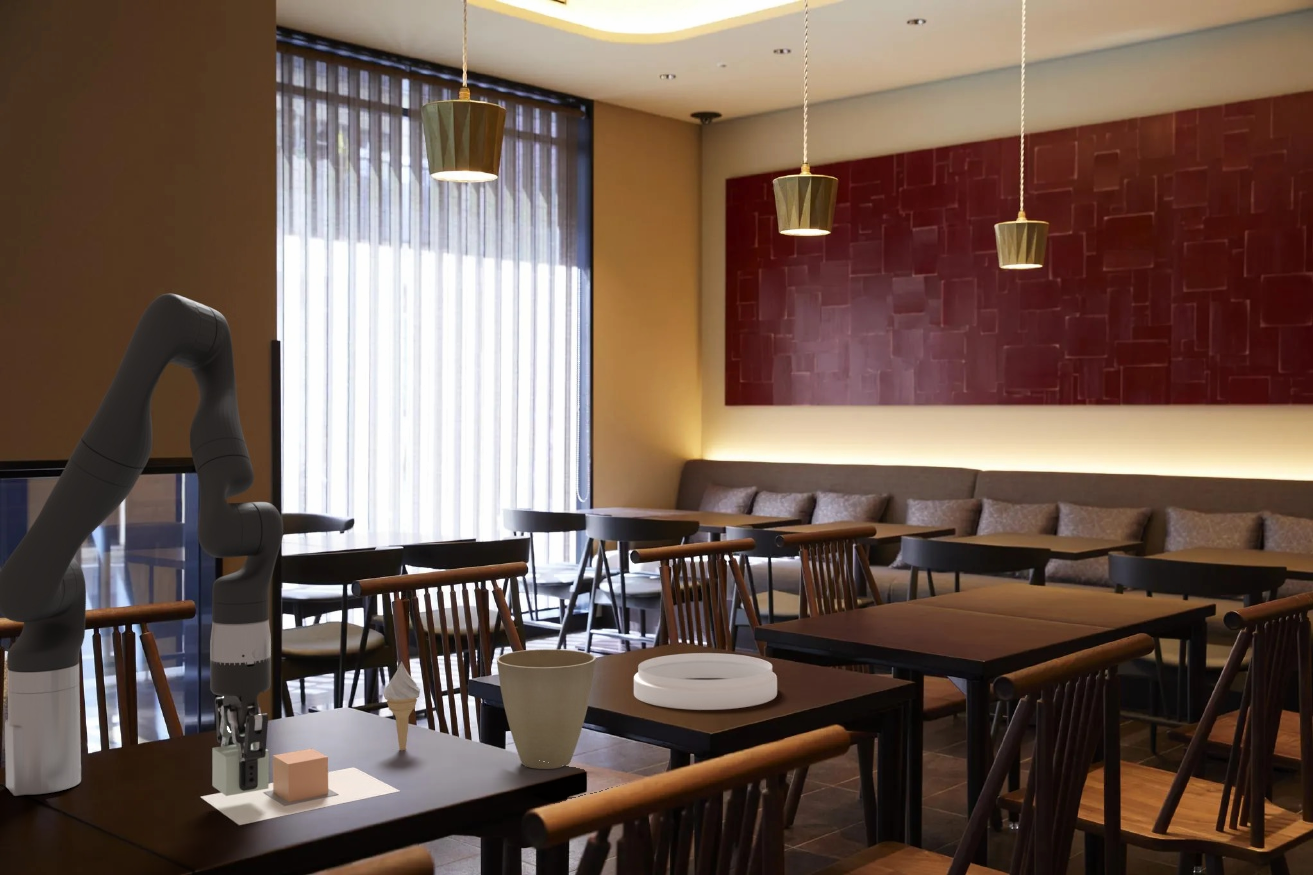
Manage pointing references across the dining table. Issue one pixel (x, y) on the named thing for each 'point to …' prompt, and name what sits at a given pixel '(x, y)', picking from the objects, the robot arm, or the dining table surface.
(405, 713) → the ice cream cone
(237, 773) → the sage brick
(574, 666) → the plant pot
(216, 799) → the baseplate
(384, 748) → the dining table surface
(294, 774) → the terracotta brick
